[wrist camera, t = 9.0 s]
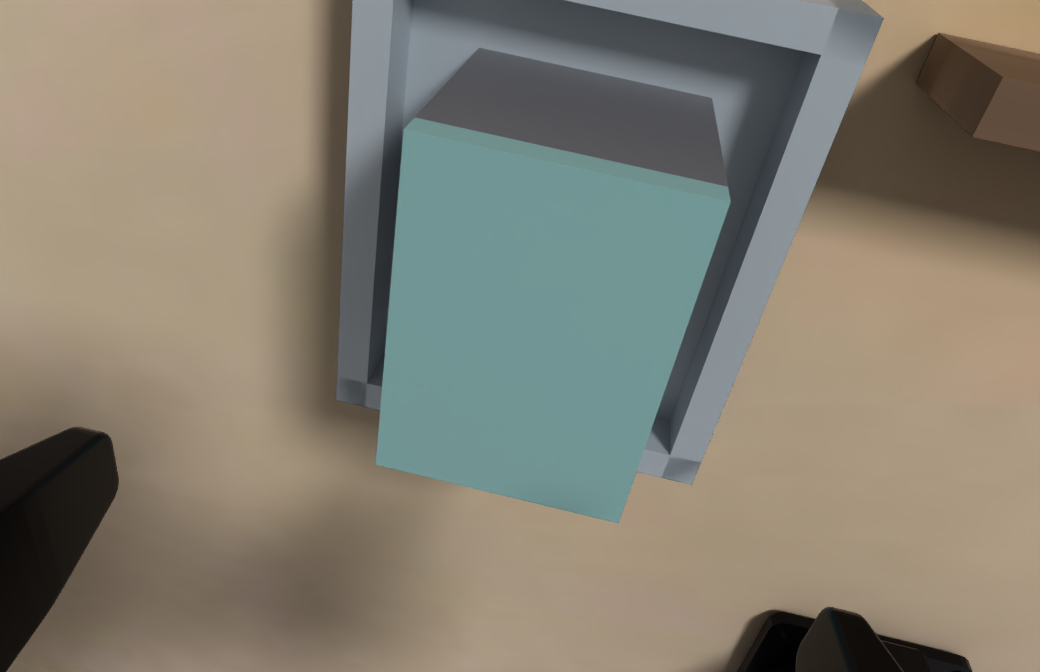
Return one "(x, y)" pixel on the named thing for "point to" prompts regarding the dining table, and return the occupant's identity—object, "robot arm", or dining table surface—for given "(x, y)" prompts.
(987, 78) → the bay
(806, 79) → the tray
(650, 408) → the teal rectangular block
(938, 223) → the dining table surface
